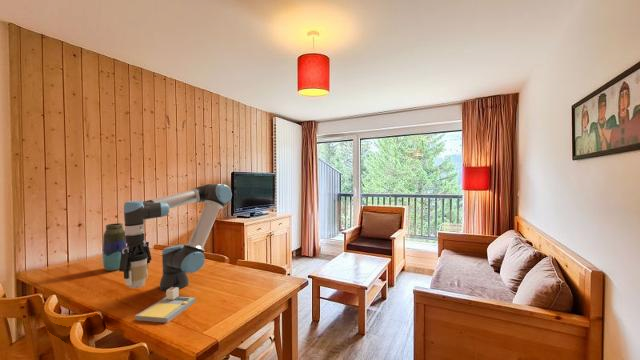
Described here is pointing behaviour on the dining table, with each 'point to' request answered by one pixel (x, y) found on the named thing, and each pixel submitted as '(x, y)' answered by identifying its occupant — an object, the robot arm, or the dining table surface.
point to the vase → (113, 246)
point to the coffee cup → (138, 269)
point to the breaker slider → (172, 293)
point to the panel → (165, 309)
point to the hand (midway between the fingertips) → (137, 280)
